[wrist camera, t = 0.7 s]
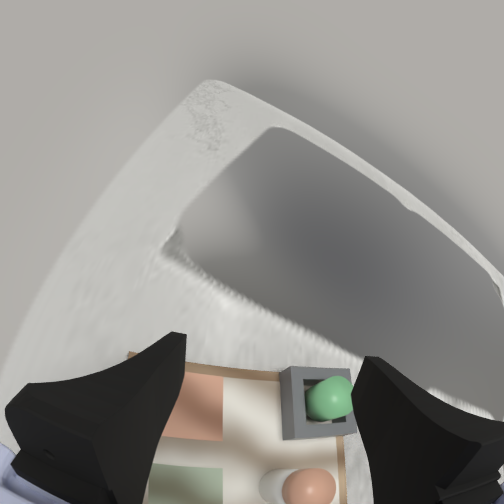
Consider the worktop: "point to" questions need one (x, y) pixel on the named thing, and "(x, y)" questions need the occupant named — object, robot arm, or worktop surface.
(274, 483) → the marker
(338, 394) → the button
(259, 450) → the board
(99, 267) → the worktop surface
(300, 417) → the button housing
